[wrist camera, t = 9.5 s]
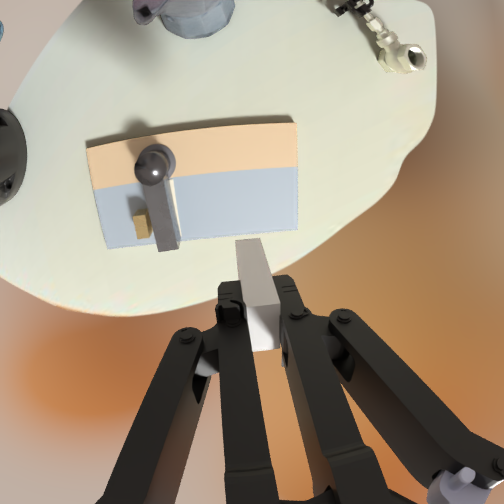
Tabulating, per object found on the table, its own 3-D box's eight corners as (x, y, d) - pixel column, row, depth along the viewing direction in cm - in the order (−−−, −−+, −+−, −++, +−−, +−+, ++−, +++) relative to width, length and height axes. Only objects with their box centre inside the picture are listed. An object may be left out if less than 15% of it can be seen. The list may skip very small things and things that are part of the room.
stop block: (141, 231, 37) (137, 239, 35) (137, 209, 36) (132, 216, 33) (153, 229, 37) (149, 237, 35) (149, 208, 36) (144, 214, 33)
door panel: (110, 245, 39) (107, 249, 37) (89, 147, 32) (85, 149, 31) (295, 226, 40) (298, 230, 39) (294, 122, 34) (297, 123, 33)
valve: (410, 62, 31) (357, -4, 26) (438, 59, 25) (380, -19, 20) (382, 85, 32) (325, 16, 27) (410, 84, 26) (345, 2, 22)
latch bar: (139, 152, 32) (131, 157, 29) (167, 146, 32) (162, 150, 29) (158, 241, 38) (153, 253, 34) (185, 237, 38) (182, 249, 35)
